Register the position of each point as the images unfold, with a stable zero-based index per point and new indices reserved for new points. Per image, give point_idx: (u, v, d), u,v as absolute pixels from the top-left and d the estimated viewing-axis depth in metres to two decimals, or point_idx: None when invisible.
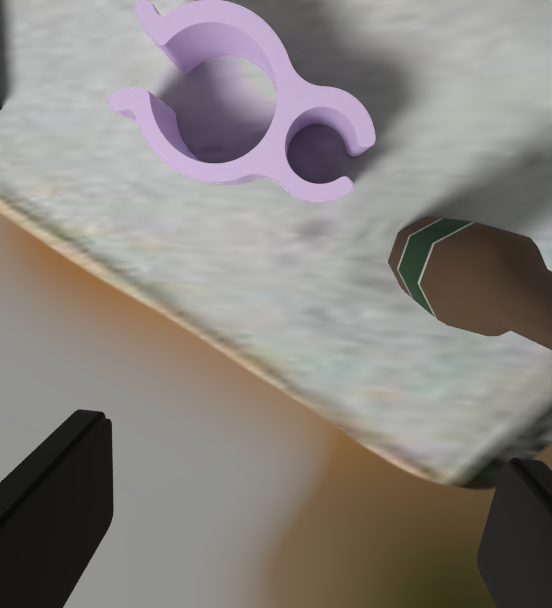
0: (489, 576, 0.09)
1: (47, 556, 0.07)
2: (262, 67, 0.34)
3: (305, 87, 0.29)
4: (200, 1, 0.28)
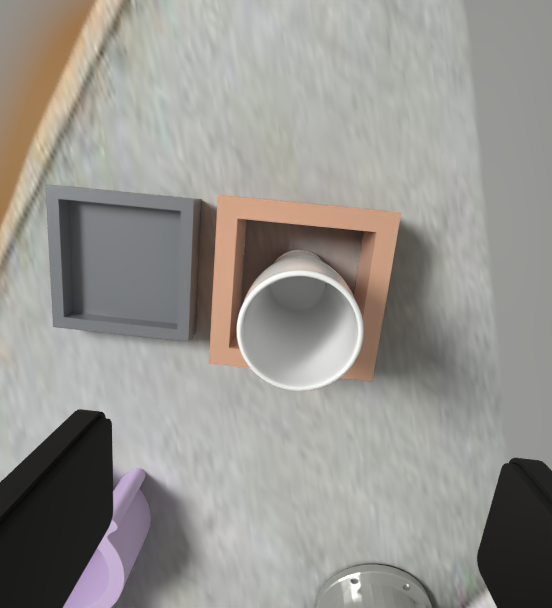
0: (489, 576, 0.09)
1: (47, 556, 0.07)
2: None
3: None
4: (122, 562, 0.35)
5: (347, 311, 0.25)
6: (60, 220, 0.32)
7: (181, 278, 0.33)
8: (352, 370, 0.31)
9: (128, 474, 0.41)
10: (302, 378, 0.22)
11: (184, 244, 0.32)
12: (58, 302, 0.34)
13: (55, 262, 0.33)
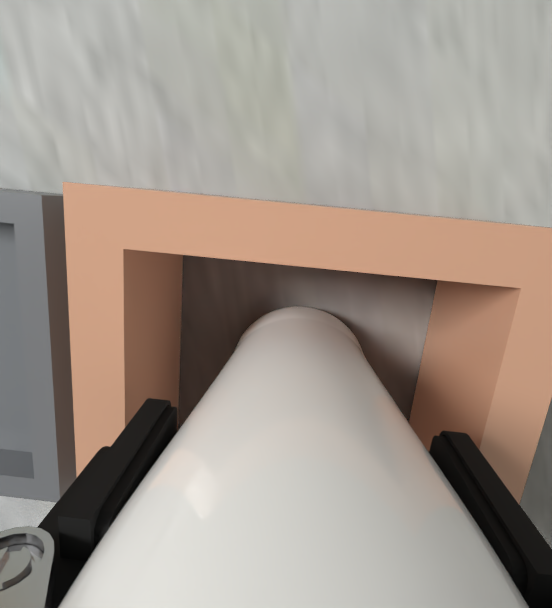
0: None
1: None
2: None
3: None
4: None
5: None
6: None
7: (32, 375, 0.14)
8: None
9: None
10: None
11: (30, 301, 0.14)
12: None
13: None
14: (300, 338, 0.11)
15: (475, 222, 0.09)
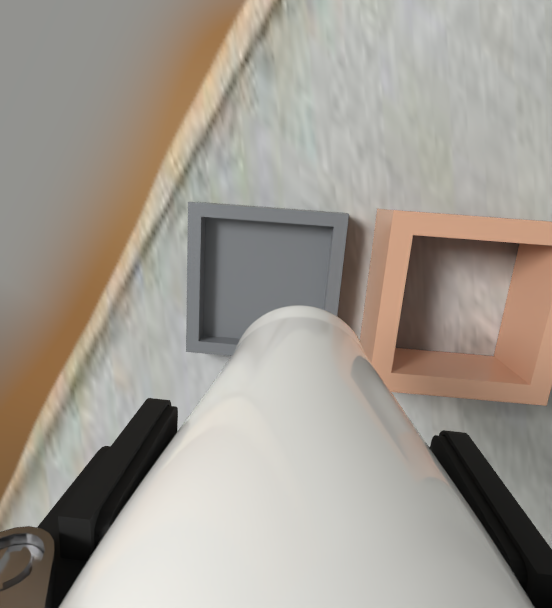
0: None
1: None
2: None
3: None
4: None
5: None
6: (201, 238, 0.30)
7: (329, 298, 0.31)
8: (525, 394, 0.29)
9: None
10: None
11: (335, 262, 0.30)
12: (193, 325, 0.32)
13: (193, 283, 0.31)
14: (301, 336, 0.11)
15: (549, 222, 0.26)
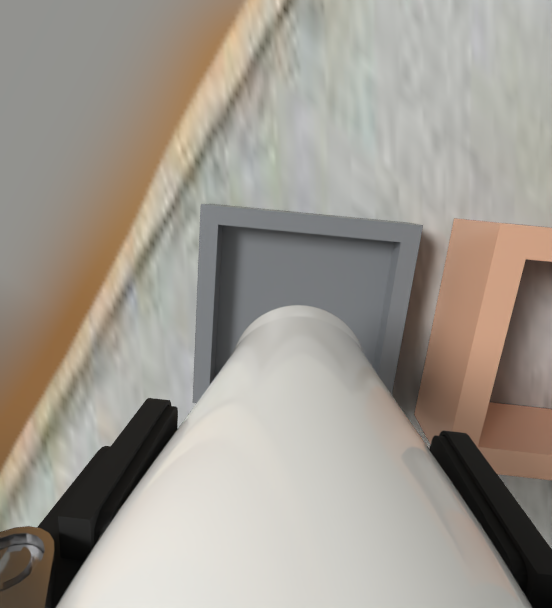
0: None
1: None
2: None
3: None
4: None
5: None
6: (216, 254, 0.22)
7: (388, 338, 0.23)
8: None
9: None
10: None
11: (399, 290, 0.22)
12: (203, 369, 0.24)
13: (205, 314, 0.23)
14: (300, 336, 0.11)
15: None
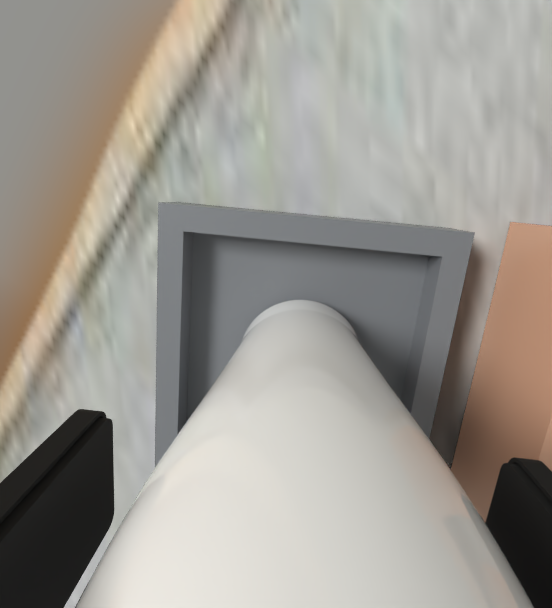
0: None
1: (48, 556, 0.07)
2: None
3: None
4: None
5: None
6: (183, 273, 0.16)
7: (421, 387, 0.16)
8: None
9: None
10: None
11: (438, 323, 0.16)
12: (168, 427, 0.17)
13: (168, 355, 0.17)
14: (304, 326, 0.12)
15: None
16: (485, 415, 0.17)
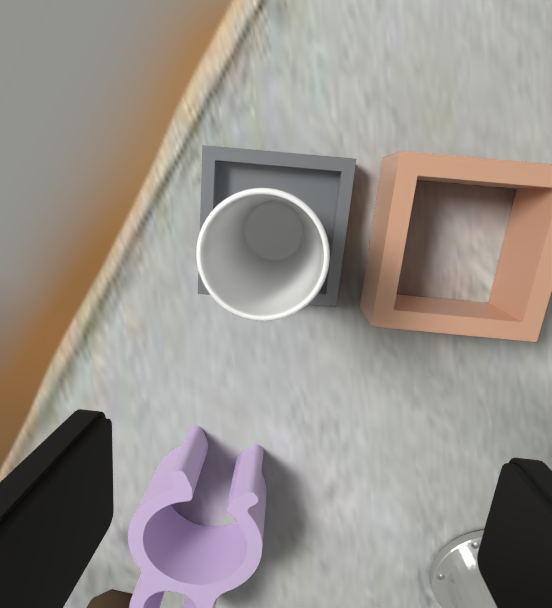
0: (489, 576, 0.09)
1: (47, 556, 0.07)
2: None
3: (210, 601, 0.38)
4: (260, 534, 0.36)
5: (318, 246, 0.24)
6: (214, 182, 0.31)
7: (335, 241, 0.32)
8: (517, 331, 0.31)
9: (247, 450, 0.41)
10: (268, 310, 0.21)
11: (342, 206, 0.31)
12: None
13: None
14: None
15: (544, 164, 0.27)
16: (371, 259, 0.33)
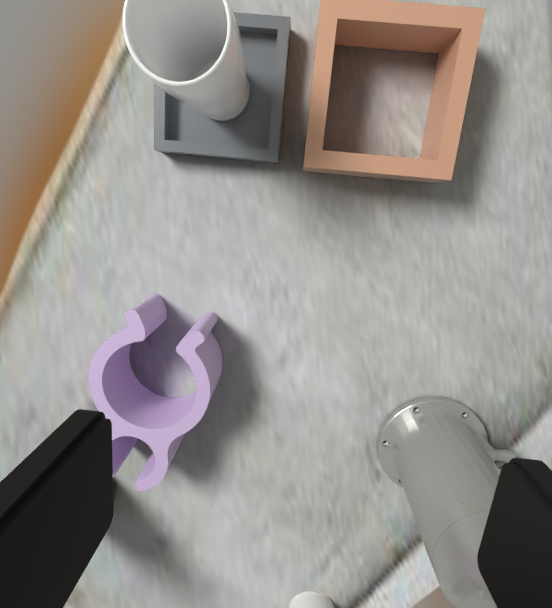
0: (489, 576, 0.09)
1: (47, 556, 0.07)
2: None
3: (165, 446, 0.41)
4: (208, 375, 0.39)
5: None
6: None
7: (274, 97, 0.36)
8: (433, 169, 0.34)
9: (202, 317, 0.44)
10: None
11: (279, 62, 0.35)
12: (160, 124, 0.37)
13: None
14: None
15: (447, 6, 0.31)
16: None
